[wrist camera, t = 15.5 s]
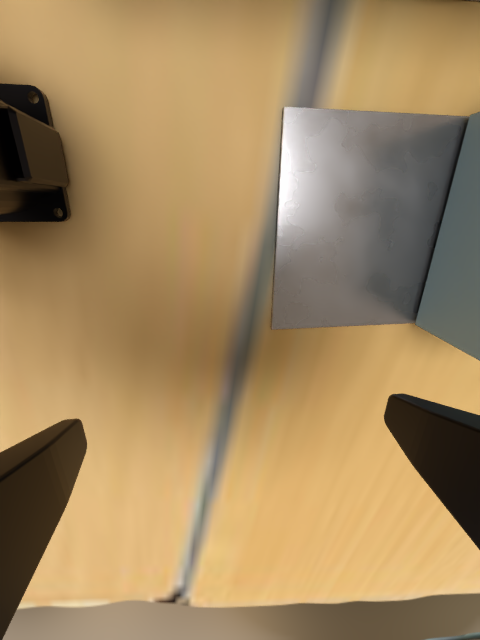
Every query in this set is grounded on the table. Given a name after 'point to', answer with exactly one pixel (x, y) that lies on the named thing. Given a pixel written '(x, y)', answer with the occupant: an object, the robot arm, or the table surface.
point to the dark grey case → (359, 214)
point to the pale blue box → (457, 257)
